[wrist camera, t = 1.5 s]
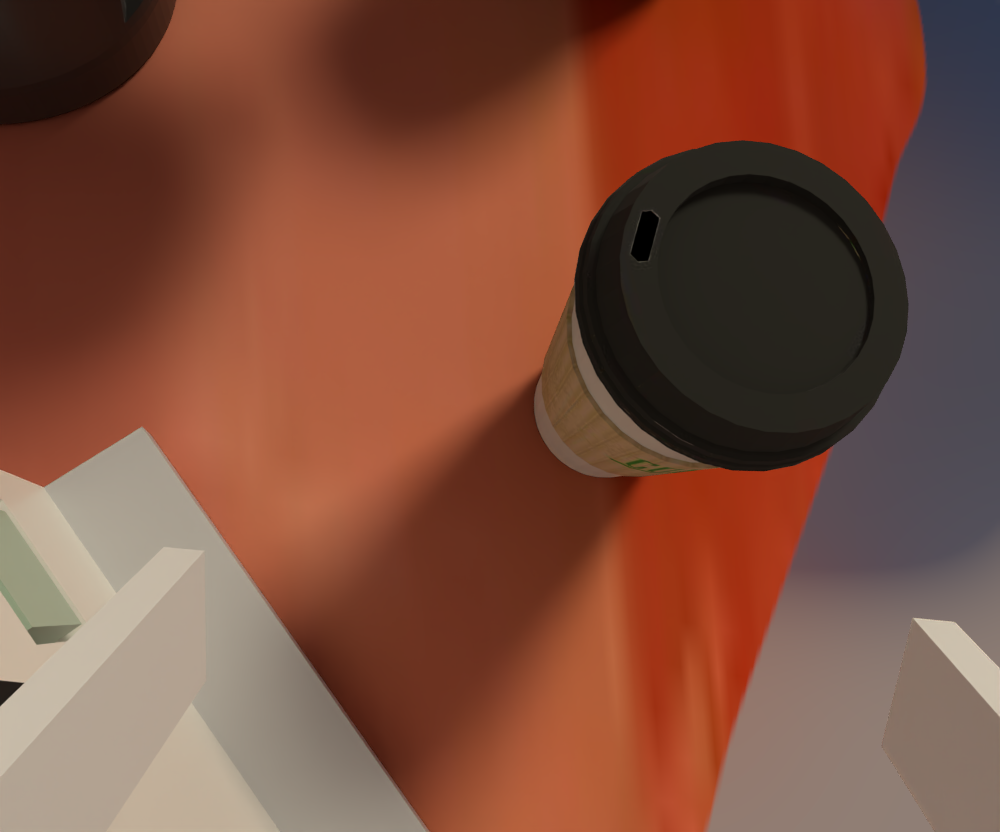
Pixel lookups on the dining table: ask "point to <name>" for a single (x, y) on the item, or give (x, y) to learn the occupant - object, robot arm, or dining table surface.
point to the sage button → (31, 589)
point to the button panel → (229, 662)
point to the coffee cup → (722, 318)
